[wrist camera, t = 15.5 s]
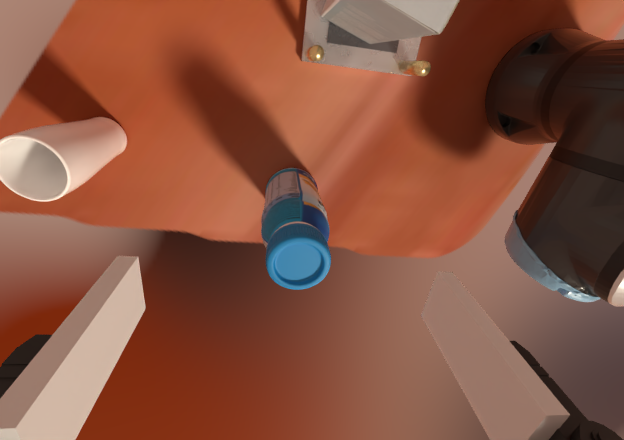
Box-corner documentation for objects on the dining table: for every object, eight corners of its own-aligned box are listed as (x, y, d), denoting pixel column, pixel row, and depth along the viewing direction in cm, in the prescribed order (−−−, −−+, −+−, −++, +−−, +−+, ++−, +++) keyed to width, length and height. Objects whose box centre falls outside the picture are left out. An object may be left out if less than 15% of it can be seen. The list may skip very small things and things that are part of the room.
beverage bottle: (270, 160, 46) (265, 221, 29) (324, 172, 48) (350, 237, 30) (260, 209, 50) (250, 291, 32) (310, 219, 52) (327, 302, 34)
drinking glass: (84, 101, 41) (-11, 121, 27) (138, 123, 42) (74, 151, 29) (77, 148, 43) (-12, 188, 30) (129, 167, 45) (66, 211, 32)
